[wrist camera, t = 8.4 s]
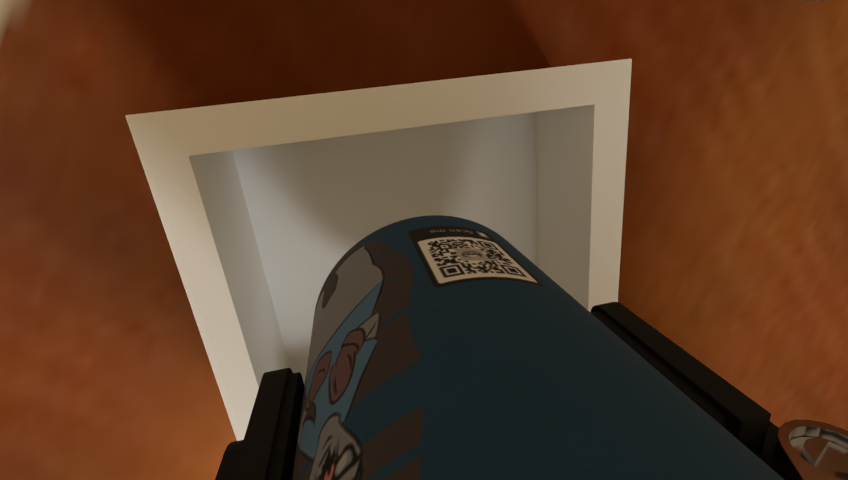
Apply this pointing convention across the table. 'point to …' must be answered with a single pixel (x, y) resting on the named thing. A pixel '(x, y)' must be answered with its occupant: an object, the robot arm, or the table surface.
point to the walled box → (379, 194)
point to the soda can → (486, 375)
